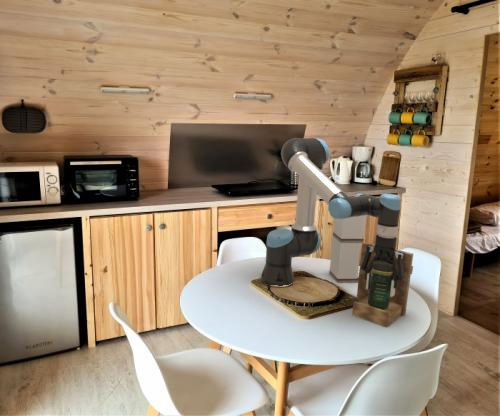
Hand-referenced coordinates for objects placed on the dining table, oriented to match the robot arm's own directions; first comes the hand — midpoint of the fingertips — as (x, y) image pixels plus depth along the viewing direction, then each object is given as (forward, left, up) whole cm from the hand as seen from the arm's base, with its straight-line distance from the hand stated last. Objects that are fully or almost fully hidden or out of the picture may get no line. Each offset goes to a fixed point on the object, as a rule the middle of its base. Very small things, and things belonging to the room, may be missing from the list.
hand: (379, 291), depth 169 cm
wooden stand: (-2, +1, -9) cm, 10 cm away
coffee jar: (0, 0, -5) cm, 5 cm away
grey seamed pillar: (-28, +26, -10) cm, 39 cm away
